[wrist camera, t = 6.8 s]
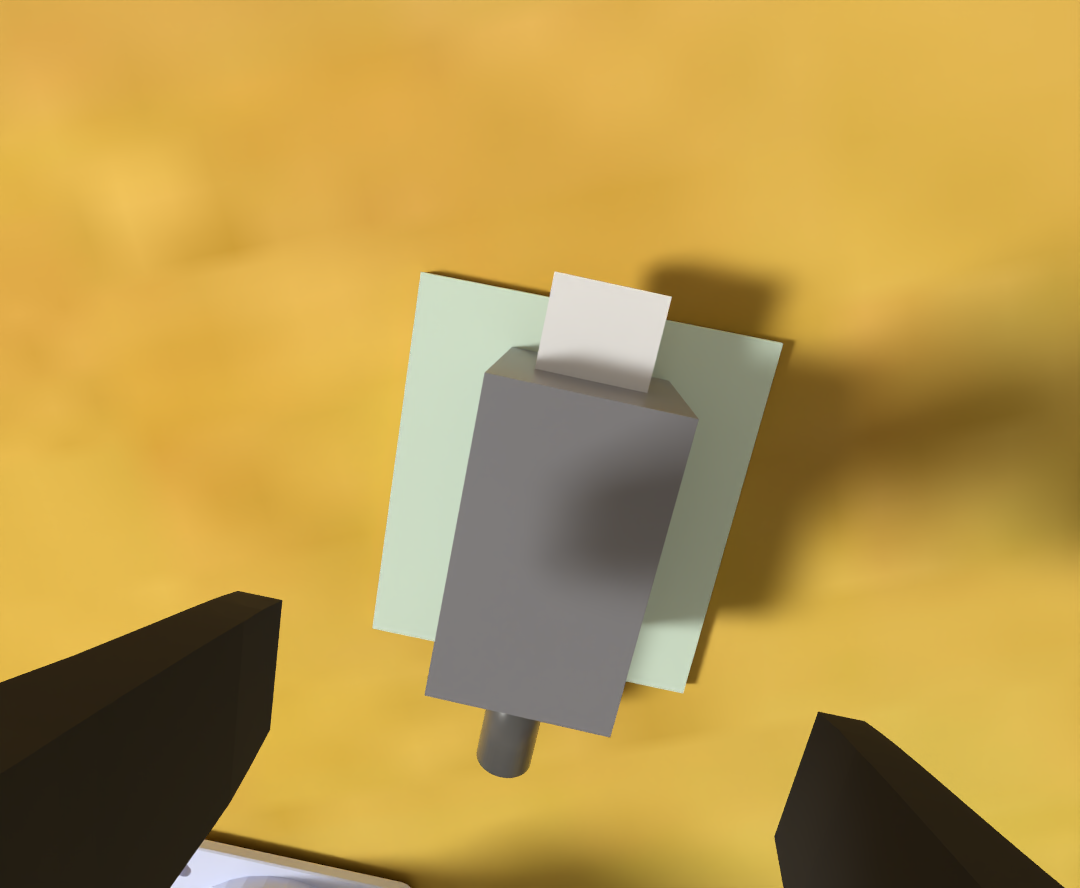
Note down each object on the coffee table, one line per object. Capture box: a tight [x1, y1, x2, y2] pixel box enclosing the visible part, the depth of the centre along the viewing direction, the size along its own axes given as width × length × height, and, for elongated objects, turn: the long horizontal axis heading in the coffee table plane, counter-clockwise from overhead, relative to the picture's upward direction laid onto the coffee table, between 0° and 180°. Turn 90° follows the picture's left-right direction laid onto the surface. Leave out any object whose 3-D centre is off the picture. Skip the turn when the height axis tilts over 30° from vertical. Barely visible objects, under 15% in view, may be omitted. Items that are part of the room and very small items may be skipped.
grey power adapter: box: [425, 272, 699, 778], centre depth 15 cm, size 12×4×4 cm, turn 168°
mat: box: [373, 272, 783, 693], centre depth 17 cm, size 10×9×1 cm
